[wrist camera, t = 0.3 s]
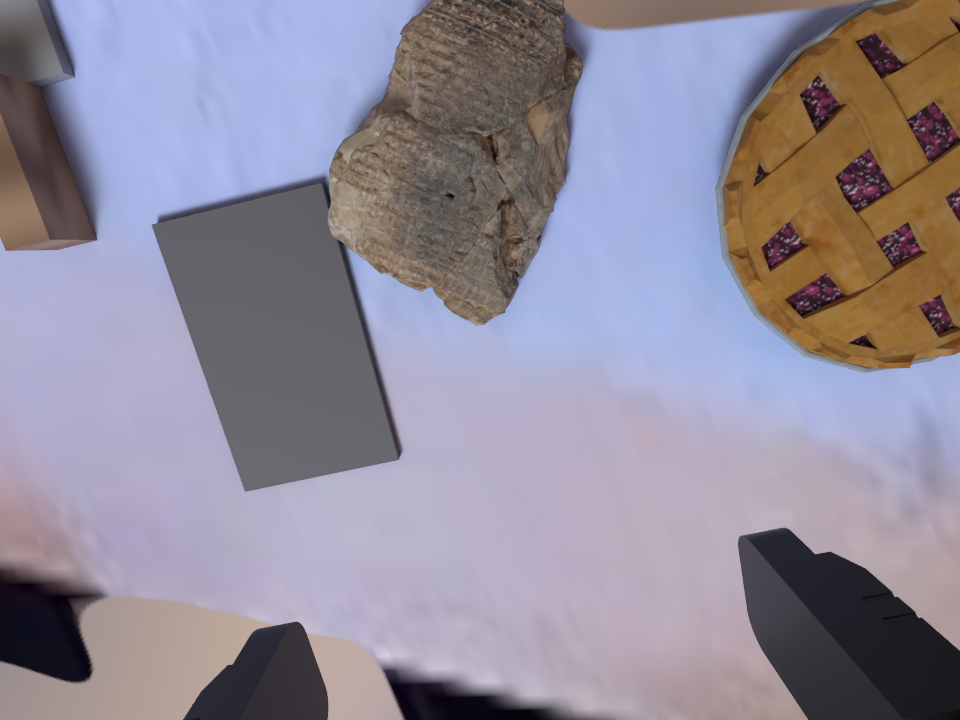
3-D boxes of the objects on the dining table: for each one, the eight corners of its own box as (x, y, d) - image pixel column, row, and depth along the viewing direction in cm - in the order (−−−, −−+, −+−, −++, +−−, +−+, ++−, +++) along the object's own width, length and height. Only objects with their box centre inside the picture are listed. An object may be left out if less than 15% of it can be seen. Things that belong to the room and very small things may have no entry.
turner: (-83, -9, 33) (-161, -43, 29) (32, -42, 32) (-30, -81, 29) (25, 258, 37) (-31, 259, 33) (131, 231, 36) (87, 230, 32)
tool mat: (157, 225, 36) (151, 224, 35) (324, 183, 35) (321, 182, 34) (248, 488, 40) (245, 491, 39) (399, 456, 39) (398, 459, 38)
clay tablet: (441, -60, 32) (312, 237, 36) (434, -114, 27) (287, 235, 31) (636, 55, 34) (493, 329, 37) (663, 23, 29) (496, 341, 33)
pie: (1100, 206, 35) (1200, 200, 30) (824, 419, 38) (873, 444, 33) (915, -70, 31) (993, -128, 26) (632, 190, 35) (655, 182, 30)
